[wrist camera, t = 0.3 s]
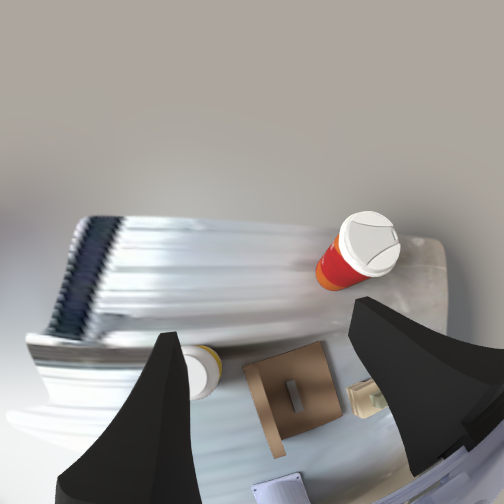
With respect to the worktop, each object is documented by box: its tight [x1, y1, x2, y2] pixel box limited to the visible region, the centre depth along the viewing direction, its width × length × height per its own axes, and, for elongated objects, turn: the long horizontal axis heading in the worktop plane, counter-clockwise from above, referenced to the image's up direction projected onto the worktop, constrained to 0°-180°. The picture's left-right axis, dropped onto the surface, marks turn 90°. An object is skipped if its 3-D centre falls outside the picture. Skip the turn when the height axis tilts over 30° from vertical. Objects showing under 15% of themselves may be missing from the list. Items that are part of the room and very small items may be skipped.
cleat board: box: [242, 341, 343, 459], centre depth 33 cm, size 13×12×7 cm
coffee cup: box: [316, 211, 400, 291], centre depth 36 cm, size 8×8×15 cm
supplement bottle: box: [181, 345, 222, 400], centre depth 31 cm, size 7×7×13 cm
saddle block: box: [346, 379, 388, 419], centre depth 34 cm, size 5×8×7 cm, turn 107°
